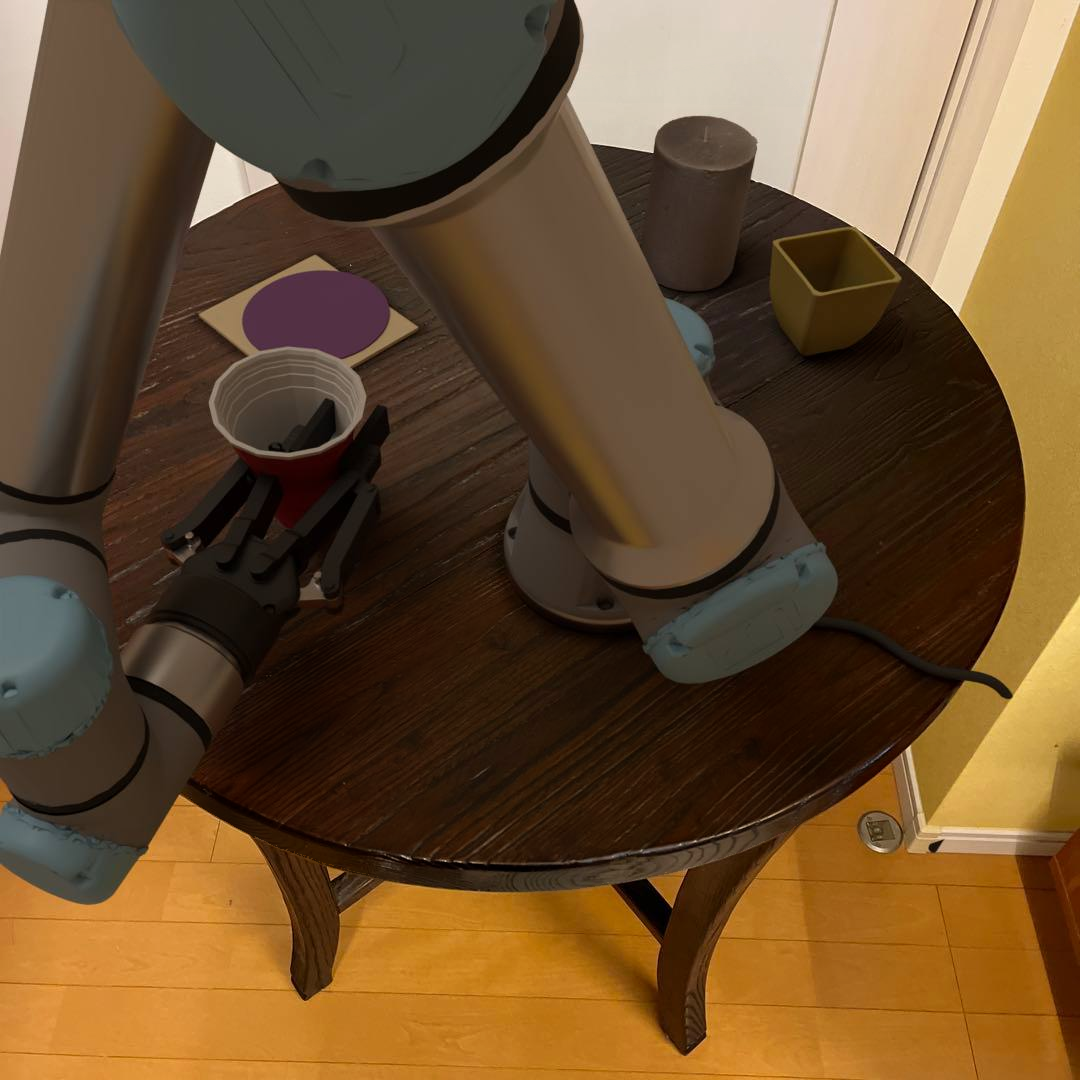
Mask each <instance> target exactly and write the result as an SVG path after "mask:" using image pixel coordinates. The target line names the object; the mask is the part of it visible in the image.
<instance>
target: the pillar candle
mask: <svg viewBox="0 0 1080 1080" xmlns="http://www.w3.org/2000/svg"><path fill="white" fill-rule="evenodd" d="M758 143H759V142H758V139H757V138H756V136H754V135H752V134H751V132H749V131H748V130H747V129H746V128H745V127H743V126H742V125H740V124H738V123H736V122H733V121H731V120H728V119H726V118H723V117H716V116H711V115H689V116H682V117H678V118H675V119H672V120H670V121H667V122H666V123H664V124H663V125H662V126H661V127H659V129H658V130H657V132H656V135H655V137H654V145H653V153H652V158H651V159H652V161H651V169H650V178H649V186H648V193H647V200H646V208H645V215H644V223H643V230H642V237H641V238H642V239H641V246H640V249H641V251H642V253H643V255H644V257H645V259H646V261H647V263H648V265H649V267H650V270H651V272H652V274H653V276H654V278H655V280H656V282H657V284H658V285H661V286H663V287H665V288H668V289H671V290H675V291H681V292H704V291H709V290H711V289H715V288H718V287H720V286H721V285H722V284H723V283H724V282H725V281H726V280H727V279H728V278H729V277H730V276H731V274H732V272H733V270H734V264H735V261H736V256H737V250H738V247H739V240H740V236H741V231H742V227H743V226H742V225H743V221H744V215H745V210H746V206H747V202H748V201H747V200H748V196H749V195H748V194H749V191H750V185H751V180H752V174H753V171H754V165H755V158H756V155H757V151H758V145H757V144H758Z"/></svg>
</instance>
